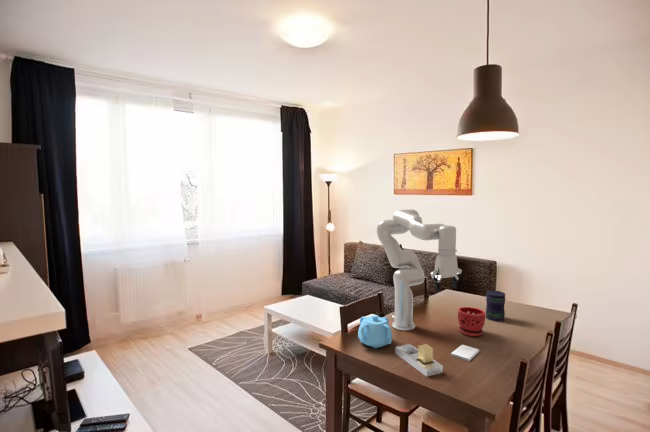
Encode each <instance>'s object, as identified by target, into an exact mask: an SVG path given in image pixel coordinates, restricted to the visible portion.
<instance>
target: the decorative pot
mask: <svg viewBox="0 0 650 432" xmlns="http://www.w3.org/2000/svg"><path fill="white" fill-rule="evenodd" d="M358 327H359V328H358V331H357V337H358V339H359V341H360V343H361V344H364V345H366V346H369V347H372V348H373V349H379V348H383V347H385V346H387V345H391V344H392V340H393V332H392V328H391V326H390V324H389V318H388V317H386V316H383V317H380V316H379V315H377V314H373V315H369V316H368V317H367V316H361V317H360V319H359V326H358Z"/></svg>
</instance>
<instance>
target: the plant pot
mask: <svg viewBox="0 0 650 432" xmlns="http://www.w3.org/2000/svg"><path fill="white" fill-rule="evenodd" d="M457 320H458V324H459V327H458V331H459V332H460V333H462V334H463V335H466V336H468V337H480V336H481V335H482V334H484V330H483V328H484V326H485V323H486V311H484V310H483V309H481V308H477V307H473V306H472V307H471V306H462V307H459V308H457Z"/></svg>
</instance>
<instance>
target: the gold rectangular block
mask: <svg viewBox="0 0 650 432" xmlns="http://www.w3.org/2000/svg"><path fill="white" fill-rule="evenodd" d="M417 347H418V348H417V349H418V361H419V362H420V363H422V364H423V365H427V364H431V363H433V359H434V347H432V346H431V345H429V344H427V343H424V344H421V345H417Z"/></svg>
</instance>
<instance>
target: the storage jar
mask: <svg viewBox="0 0 650 432" xmlns="http://www.w3.org/2000/svg"><path fill="white" fill-rule="evenodd" d="M485 300H486V306H485V319H487V320H489V321H492V322H498V323H499V322H503V321H505V315H506V312H505V304H506V293H505V292H503V291H499V290H487V291H486V296H485Z"/></svg>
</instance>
